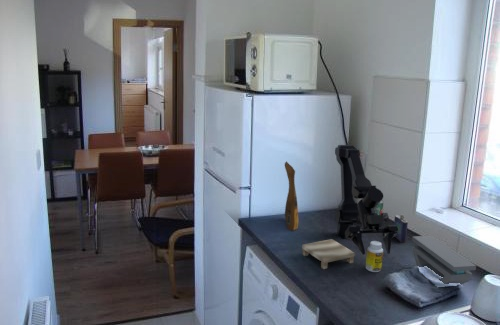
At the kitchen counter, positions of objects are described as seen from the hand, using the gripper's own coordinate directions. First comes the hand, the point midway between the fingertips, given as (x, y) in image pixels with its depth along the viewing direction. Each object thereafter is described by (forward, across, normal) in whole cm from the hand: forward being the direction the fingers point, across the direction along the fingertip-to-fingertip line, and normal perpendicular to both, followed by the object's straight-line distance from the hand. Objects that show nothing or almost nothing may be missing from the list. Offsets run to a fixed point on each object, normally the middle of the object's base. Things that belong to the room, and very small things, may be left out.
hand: (376, 253), depth 161 cm
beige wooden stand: (-3, -14, +12) cm, 19 cm away
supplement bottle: (+4, 0, +6) cm, 7 cm away
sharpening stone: (+10, +20, 0) cm, 22 cm away
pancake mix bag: (-28, -21, +38) cm, 52 cm away
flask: (-16, +23, +25) cm, 38 cm away
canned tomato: (-29, +18, +38) cm, 51 cm away
